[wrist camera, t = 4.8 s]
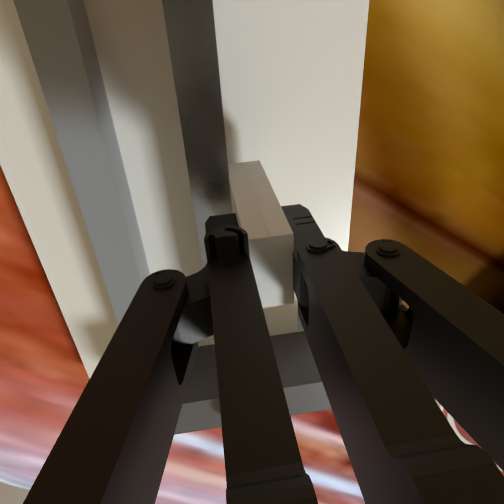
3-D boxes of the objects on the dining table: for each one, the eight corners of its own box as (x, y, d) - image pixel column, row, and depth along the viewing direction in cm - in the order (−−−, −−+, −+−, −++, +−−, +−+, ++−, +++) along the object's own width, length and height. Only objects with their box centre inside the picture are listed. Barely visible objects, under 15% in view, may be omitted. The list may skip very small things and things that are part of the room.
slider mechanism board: (-174, -321, 11) (-521, -632, 6) (378, -320, 12) (526, -568, 7) (98, 371, 26) (76, 467, 21) (331, 337, 28) (367, 418, 22)
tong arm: (159, -35, 14) (155, -41, 12) (204, -37, 14) (208, -44, 12) (213, 323, 23) (215, 353, 21) (240, 319, 23) (245, 349, 21)
